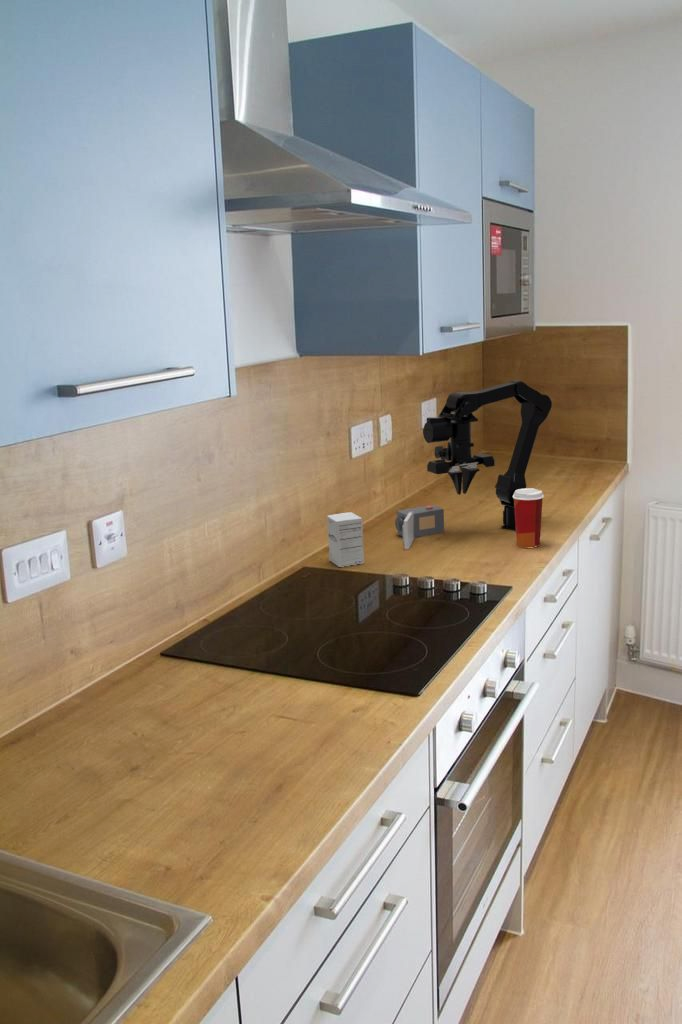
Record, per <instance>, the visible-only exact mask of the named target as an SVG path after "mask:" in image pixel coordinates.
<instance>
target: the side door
mask: <svg viewBox="0 0 682 1024" xmlns="http://www.w3.org/2000/svg"><path fill="white" fill-rule="evenodd" d="M402 530H403V536H402V544H404V550H409V549H410V548H411V545H412V543H414V542H413V541H414V540H415V538H416V537H414V512H413V511H409V513H408V515H407V516H406V518H405V520H404V525H403V526H402Z"/></svg>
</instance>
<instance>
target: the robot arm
mask: <svg viewBox="0 0 682 1024" xmlns="http://www.w3.org/2000/svg"><path fill="white" fill-rule="evenodd" d="M510 398H513V399H515V401H516V402H518V403H519V404H520V405H521V406H520V416H521V425H520V429H519V432H518V435H517V438H516V442H515V445H514V449H513V453H512V455H511V459H510V463H509V466H508V469H507V470H506V472H505V473H504V474H502V473H501V474H499V475H498V477H497V482H496V484H495V486H494V489H495V495H496V498H497V499H498V500H499V501H500V504H501V505H502V506H503V510H502V525H501V527H500V528H501V529H507V530H513V531H514V530H515V531H516V524H515V509H514V498H513V495H514V493H515V490H518V489H525V488H527V482H526V481H527V480H526V476H525V475H526V472H527V468H528V465H529V462H530V457H531V455H532V451H533V449H534V444H535V440H536V438H537V435H538V431H539V428H540V426H541V425H542V424H543V423H544V422H545V421H546V420H547V419H548V416H549V414H550V411H551V409H552V406H553V402H552V400H551V397H550V396H549V395H547V394H545V393H544V394H542V393H541V392H539V390H536V389H534V388H532V387H530V386H529V385H528V384H527V383H525V382H524V381H522V380H515V379H514V380H510V381H509V382H505V383H501V384H498V385H494V386H491V387H487V388H483V389H479V390H476V391H460V392H457V391H456V392H452V393H449V394H448V396H447V399H446V403H445V404H444V406H443V408H442V409H441V411H440V413H439V415H438V416H437V417H426V422H425V423H424V425H423V428H422V435H423V438H424V440H425V442H426V443H427V444H432V443H438V442H439V443H440V442H445V441H446V442H447V441H448V442H447V447H444V446H443V445H439V446H435V447H434V457H435V459H436V460H430V461H428V463H427V465H426V472H429V473H432V474H435V475H442V474H448V476H449V477H450V479H451V480H452V483H453V487H454V488H455V490H456V493H457V495H461V494H462V493H463V495H466V494H467V492H468V490H469V488H470V486H471V483H472V481H473V479H474V478H475V476H476V474H477V473H478V472H480V469H479V468H477V467H478V465H479V466H480V465H482V466H483V467H485V468H489V467H490V468H491V467H495V465H496V463H495V462H496V459H495V457H494V456H493V455H490V454H486V453H479V454H473V456H472V448H473V447H475V446H474V445H475V444H474V442H472V423H474V422H478V421H479V419H478V418H477V417H476V416H475V415H474V414H473V413H475V412H476V411H478V410H479V409H480V408H481V407H483V406H485V405H489V404H493V403H496V402H500V401H503V400H506V399H510ZM449 440H450V441H449Z"/></svg>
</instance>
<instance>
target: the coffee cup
mask: <svg viewBox="0 0 682 1024" xmlns="http://www.w3.org/2000/svg"><path fill="white" fill-rule="evenodd" d="M544 497H545V495H544V494H543V491H542V490H540V489H537V488H532V487H531V488H527V487H526V488H525V489H518V490H515V493H514V495H513V498H514V509H515V524H516V530H515V534H516V535H515V536H516V545H517V547H518V546H519V547H518V548H521V547H535V546H538V545H539V544H540V543H541V530H542V516H543V514H542V512H543V498H544ZM539 546H540V545H539Z"/></svg>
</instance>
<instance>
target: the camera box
mask: <svg viewBox="0 0 682 1024" xmlns="http://www.w3.org/2000/svg"><path fill="white" fill-rule="evenodd" d="M409 511H413V512H414V537H415V538H420V537H426V535H427V536H431V535H432V534H433V535H438V534H443V533H442V532H444V533H445V516H444V515H445V513H444V511H445V509H444V508H442V507H440V506H437V505H435V504H432V505H426V506H425V505H424V506H418V507H411V508H407V509H406V508H405V509H400V510H396V518H395V520H394V525H395V528H396V530H397V535H399V536H401V537H403V530H402V526H403V525H404V520H405V518H406V516H407V515H408V513H409ZM437 533H438V534H437Z"/></svg>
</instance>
